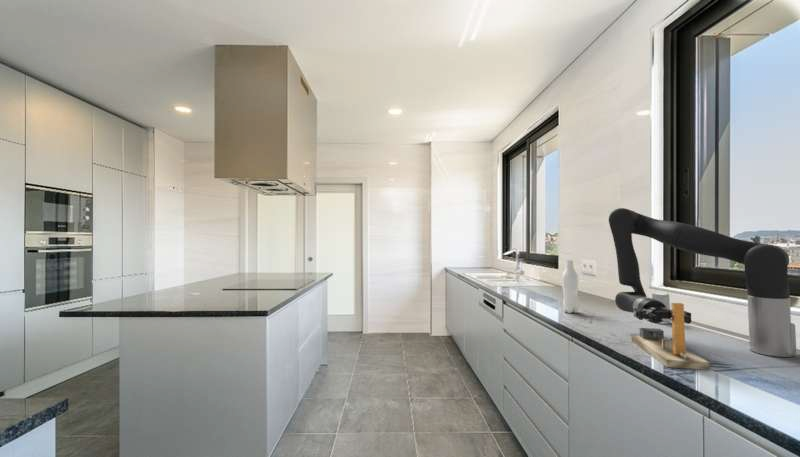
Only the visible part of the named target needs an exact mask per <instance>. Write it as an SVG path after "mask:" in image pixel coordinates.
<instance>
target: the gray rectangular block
mask: <svg viewBox="0 0 800 457" xmlns="http://www.w3.org/2000/svg"><path fill="white" fill-rule="evenodd" d="M639 336H640V337H641V338H643V339H653V340H662V339H664V337H665V332H664V330H663V329H662V328H661V329H660V328H656V327H654V328H649V327H639Z"/></svg>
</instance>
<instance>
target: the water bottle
mask: <svg viewBox="0 0 800 457" xmlns="http://www.w3.org/2000/svg"><path fill="white" fill-rule="evenodd" d="M561 282H562V283H561V284H562V292H563V293H562V294H563V298H562V300H563V302H562V308H563V312H565V313H568V314H572V313H574V314H577V313H578V312H579V309H580V303H579V299H578V298H579V297H578V295H579V293H578V292H579V276H578V274H577V272H576V270H575V268H574V261H573V260H570V259H567V260H566V261H565V269H564V270H563V273H562V276H561Z"/></svg>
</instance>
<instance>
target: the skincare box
mask: <svg viewBox="0 0 800 457" xmlns="http://www.w3.org/2000/svg"><path fill="white" fill-rule="evenodd" d="M651 298H652V299H655V300H657V301H660V302H662V303H663V304H664V305H665V306H666V307H667V308H668V309H671V304H670V303H671V302H670V300H671V299H670V294H669V293H664V292H656V293H652V296H651ZM671 323H672V321H669V320H666V321H665V320H664V321H662V322H660V323H658V324H660V325H667V324H671Z"/></svg>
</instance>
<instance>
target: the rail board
mask: <svg viewBox="0 0 800 457" xmlns="http://www.w3.org/2000/svg"><path fill="white" fill-rule="evenodd" d="M664 339H669V338H667V336H664ZM631 342H632V343H634V344H635V345H637V346H638V347H639V348H641V349H642V350H644V351H645V352H646V353H648V354H649V355H650V356H652V357H653V358H654V359H655V360H657V361H658V362H660V363H661V364H663V365H664V366H665V367H667V368H678V369H693V370H694V369H696V370H710V362H709V361H707V360H706V359H704V358H703V357H701V356H699V355H697V354H695V353H694V352H692V351H690V350H688V349H687V348H685V353H686V355H687V356H688V357H689V359H685V358H683V357H682V356H679V355H675V354H673V350H669V349H662V340H653V339H643V338H641V337H640V335H631ZM665 347H673V342H671V341H665Z"/></svg>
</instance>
